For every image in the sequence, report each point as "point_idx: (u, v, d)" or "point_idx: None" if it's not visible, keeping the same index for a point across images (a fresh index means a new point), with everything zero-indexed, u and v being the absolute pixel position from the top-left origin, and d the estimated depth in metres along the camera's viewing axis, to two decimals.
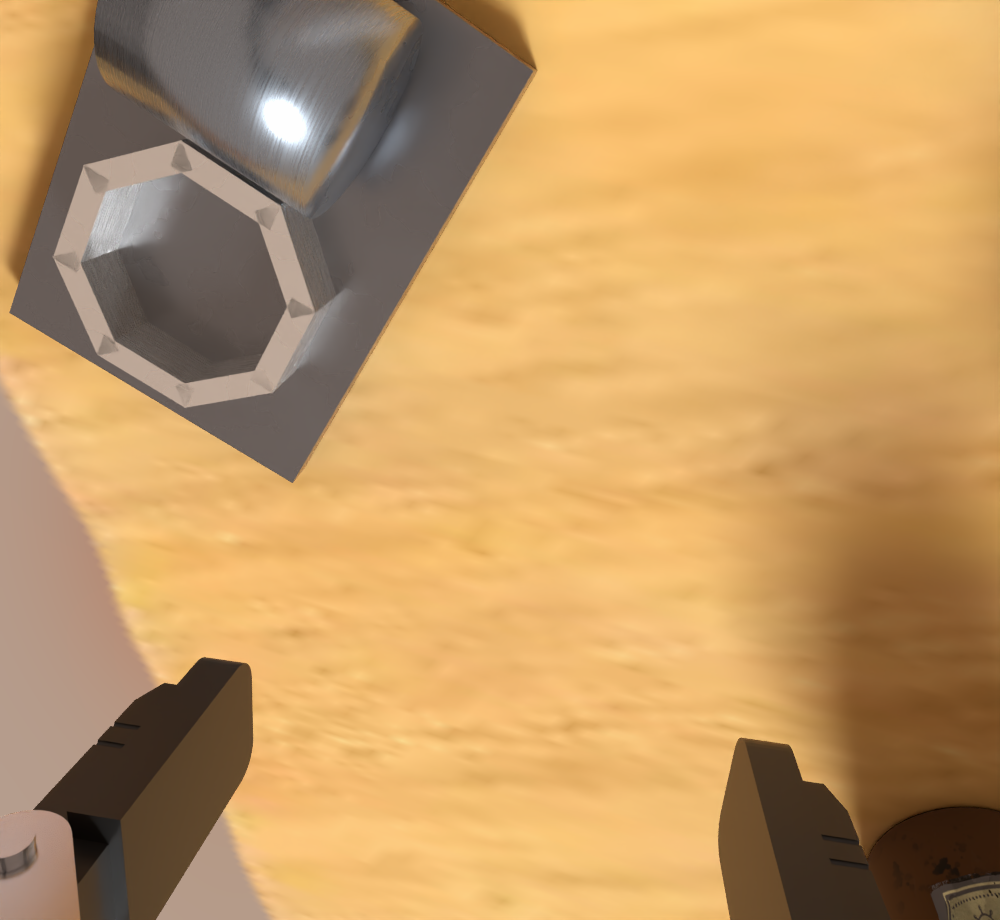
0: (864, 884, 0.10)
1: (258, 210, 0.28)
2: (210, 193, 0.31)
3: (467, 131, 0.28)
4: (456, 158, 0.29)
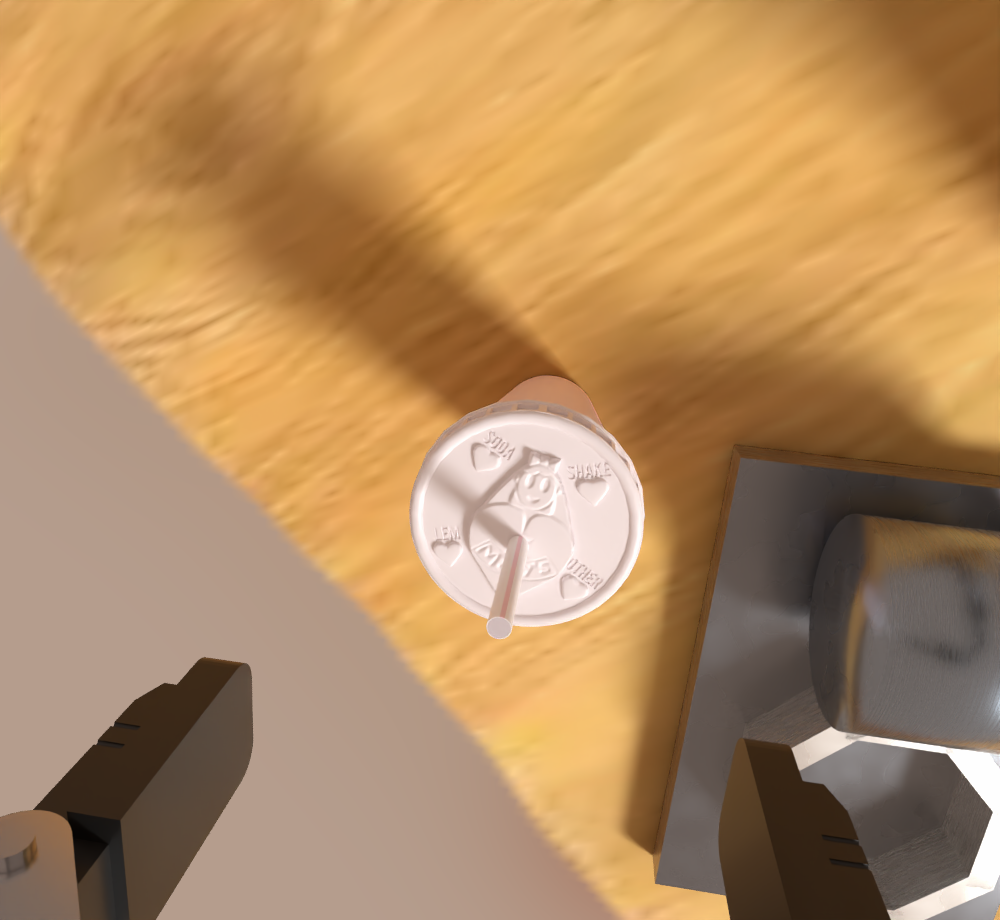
0: (864, 884, 0.10)
1: None
2: None
3: None
4: None
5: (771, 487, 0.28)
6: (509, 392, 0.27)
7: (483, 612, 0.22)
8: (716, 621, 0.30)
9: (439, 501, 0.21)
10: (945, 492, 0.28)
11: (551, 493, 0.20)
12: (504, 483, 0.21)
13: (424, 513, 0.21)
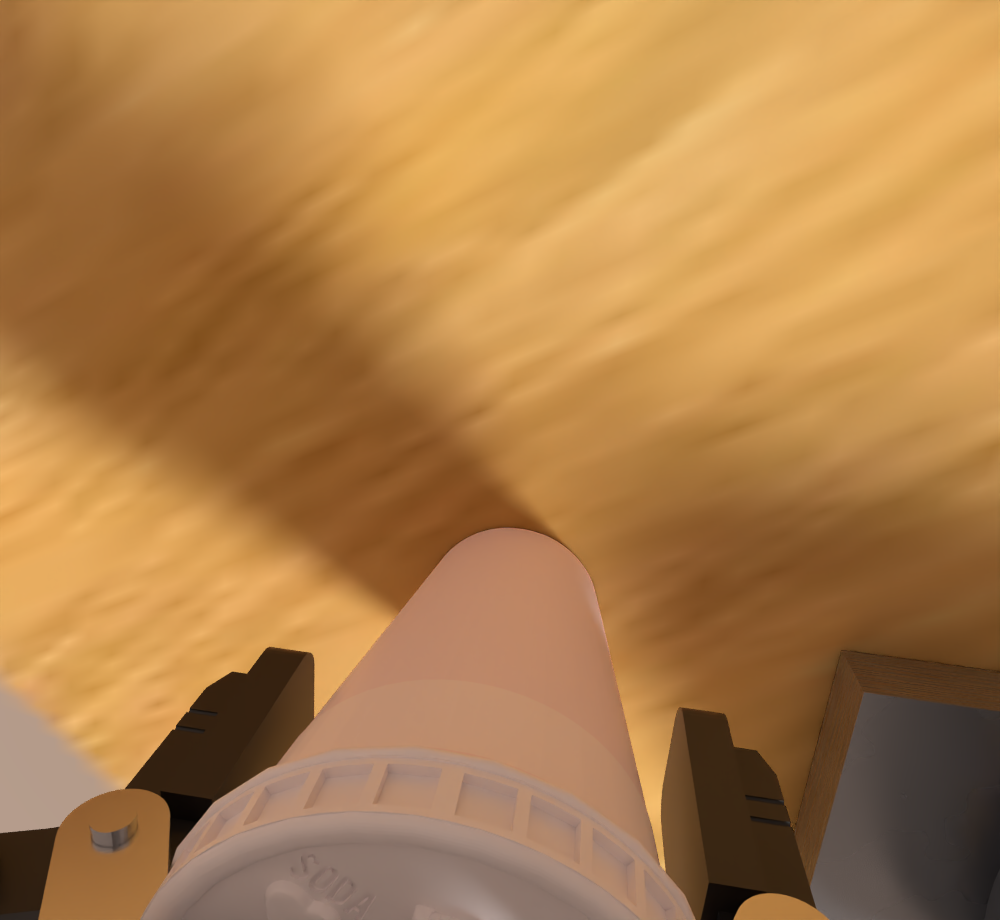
0: (784, 839, 0.10)
1: None
2: None
3: None
4: None
5: (919, 743, 0.15)
6: (433, 580, 0.15)
7: None
8: None
9: None
10: None
11: None
12: None
13: None
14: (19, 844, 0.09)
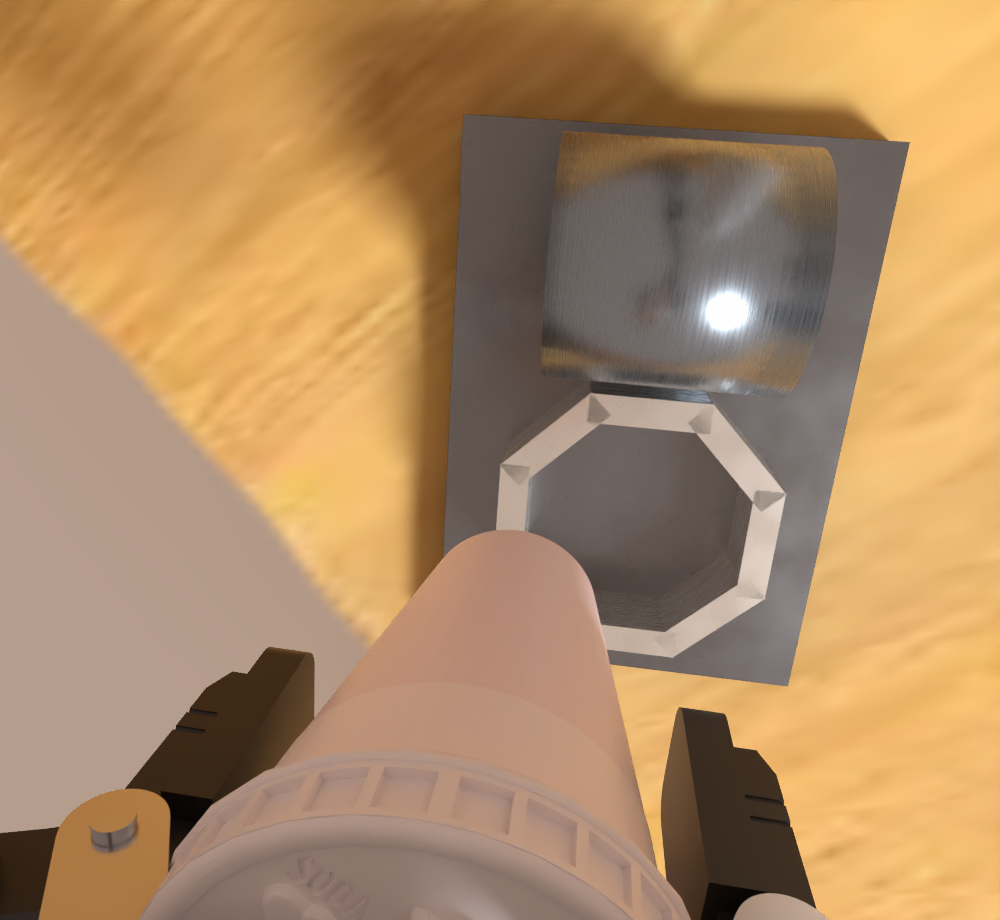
0: (784, 839, 0.10)
1: (691, 420, 0.26)
2: (605, 432, 0.29)
3: (858, 237, 0.25)
4: (855, 268, 0.26)
5: (499, 148, 0.26)
6: (431, 582, 0.15)
7: None
8: (462, 319, 0.28)
9: None
10: None
11: None
12: None
13: None
14: (19, 843, 0.09)
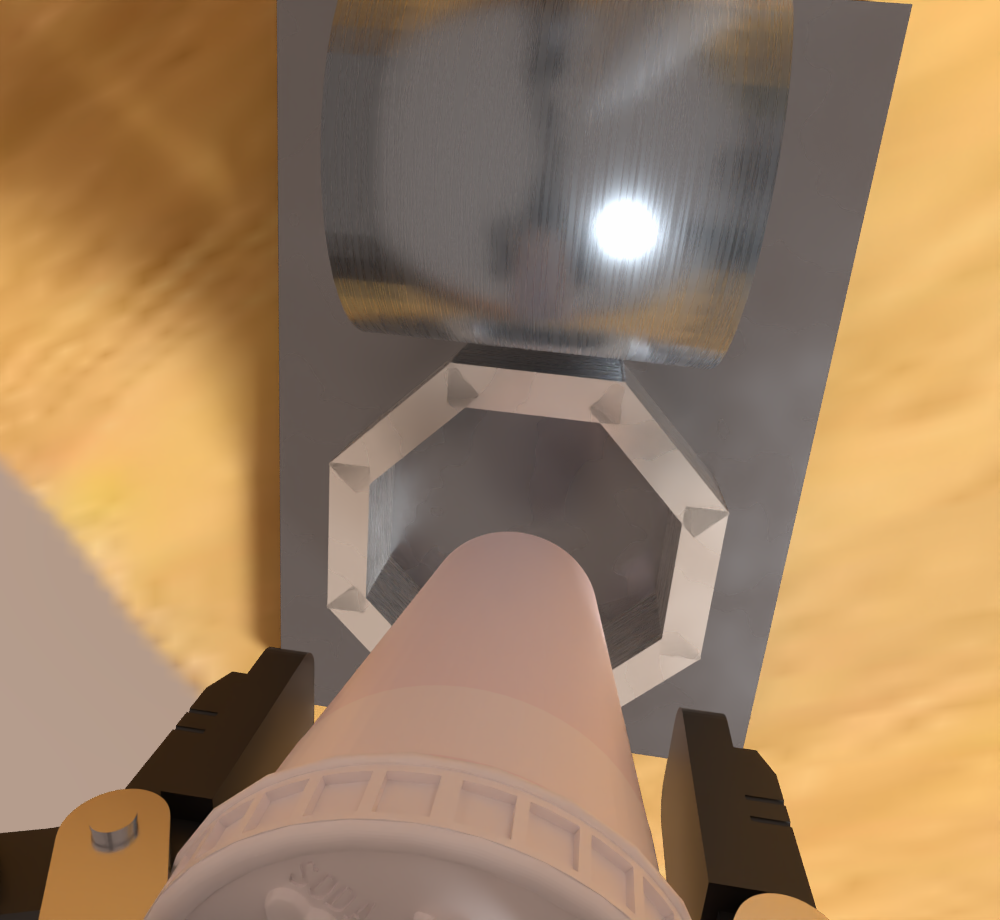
0: (783, 839, 0.10)
1: (593, 405, 0.18)
2: (489, 422, 0.21)
3: (836, 146, 0.18)
4: (832, 194, 0.18)
5: (329, 13, 0.18)
6: (432, 585, 0.15)
7: None
8: (290, 261, 0.20)
9: None
10: None
11: None
12: None
13: None
14: (19, 844, 0.09)
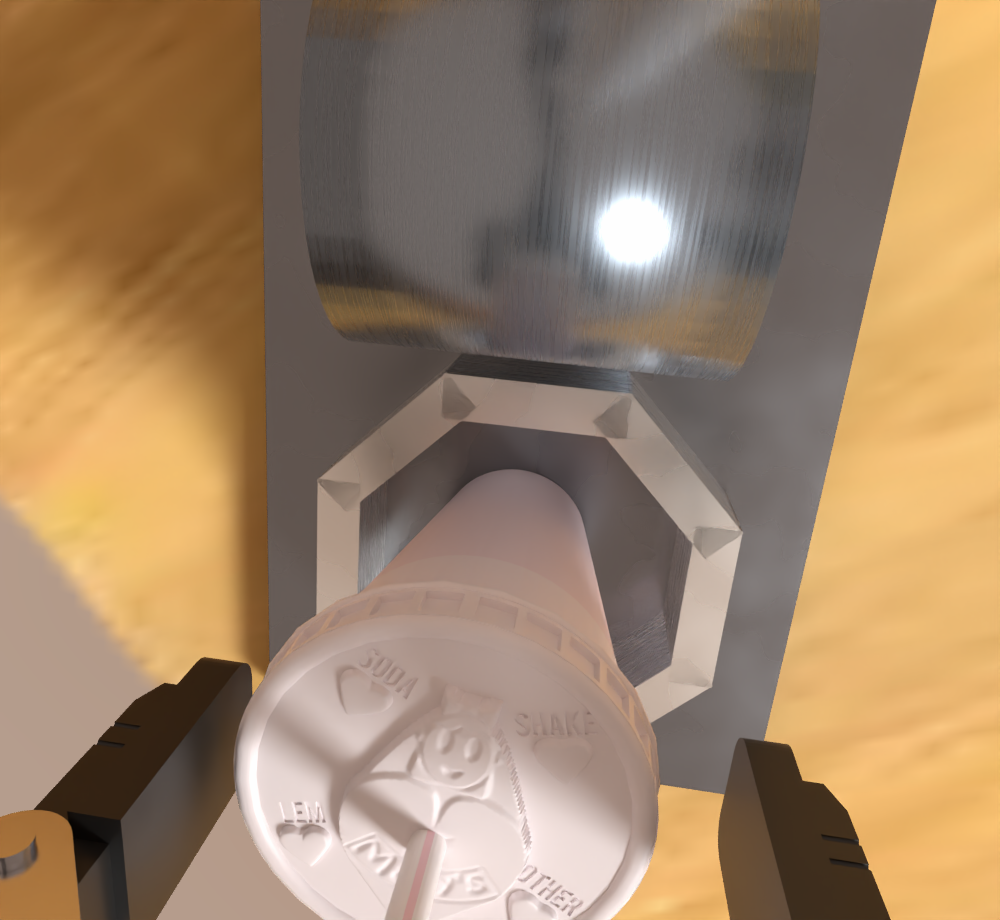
0: (864, 884, 0.10)
1: (598, 418, 0.17)
2: (487, 435, 0.20)
3: (856, 142, 0.17)
4: (852, 192, 0.17)
5: None
6: (449, 505, 0.18)
7: None
8: (276, 265, 0.19)
9: (285, 760, 0.12)
10: None
11: (485, 763, 0.11)
12: (398, 739, 0.11)
13: (259, 778, 0.12)
14: None
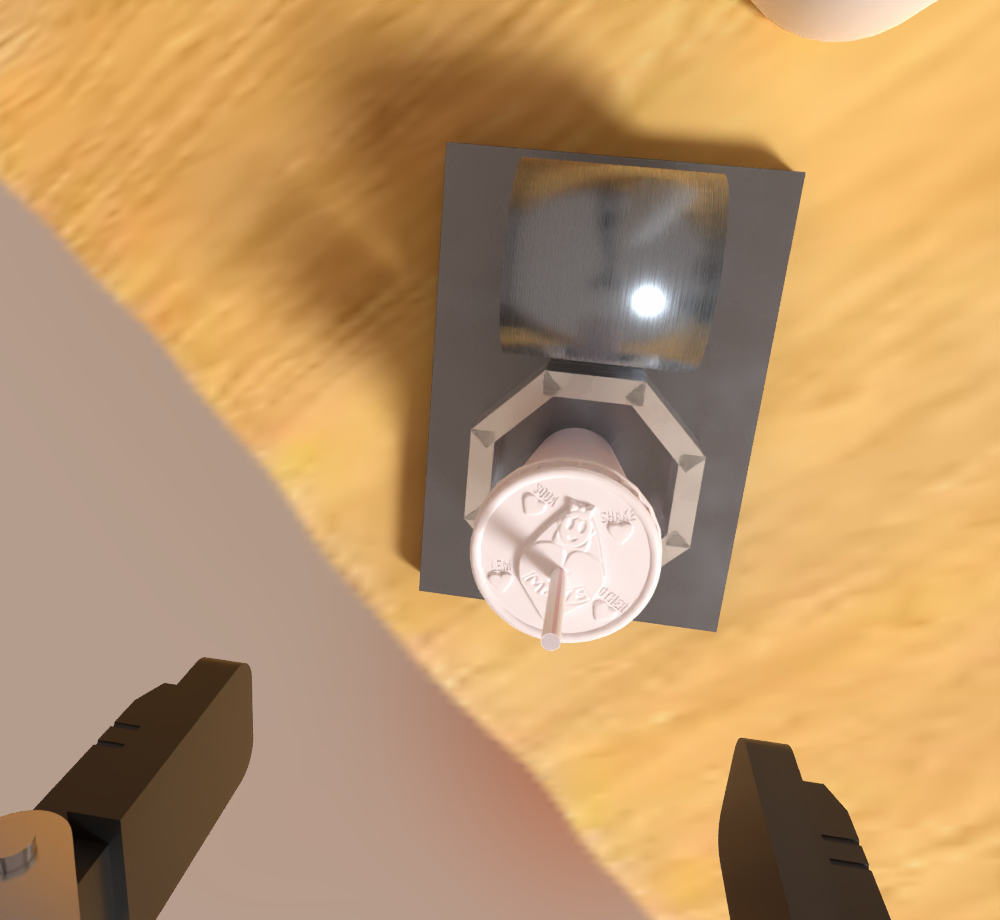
0: (864, 884, 0.10)
1: (627, 394, 0.31)
2: (561, 407, 0.34)
3: (766, 248, 0.31)
4: (764, 274, 0.31)
5: (475, 170, 0.32)
6: (544, 443, 0.32)
7: (528, 630, 0.27)
8: (443, 310, 0.34)
9: (494, 539, 0.26)
10: None
11: (587, 533, 0.25)
12: (548, 525, 0.25)
13: (482, 548, 0.26)
14: None
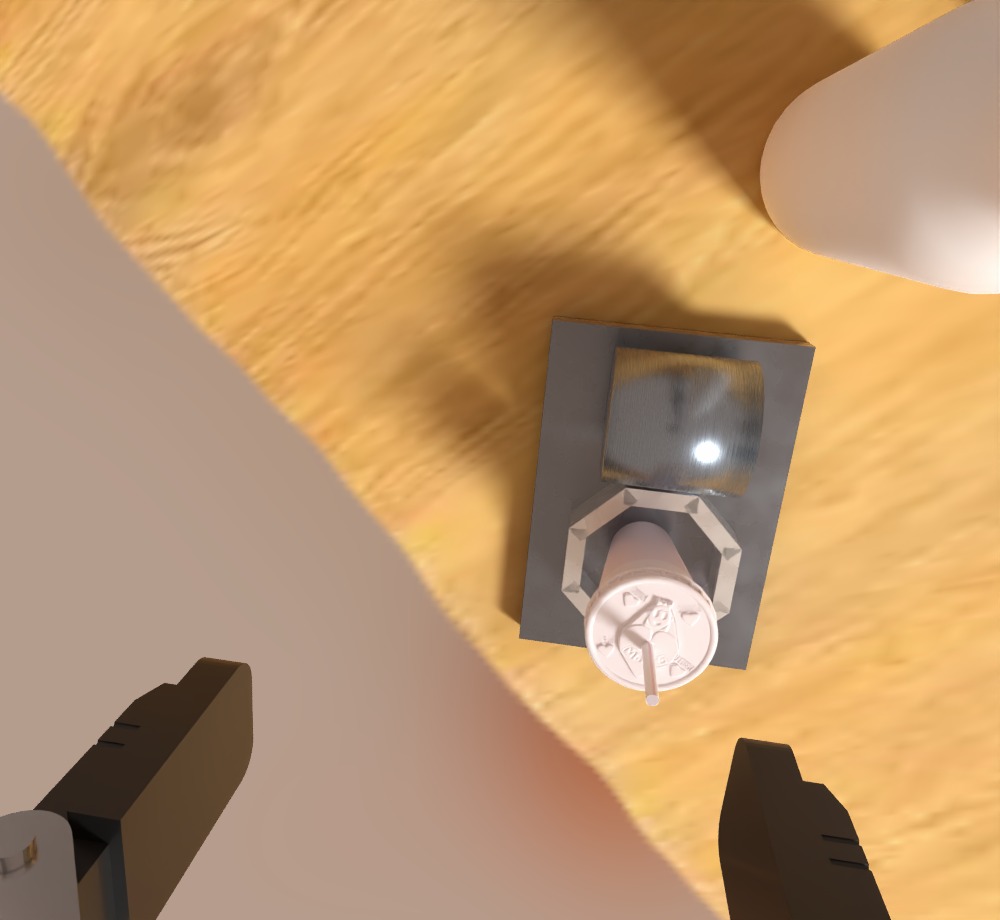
0: (864, 884, 0.10)
1: (685, 505, 0.43)
2: (632, 507, 0.46)
3: (786, 398, 0.43)
4: (785, 416, 0.43)
5: (573, 340, 0.43)
6: (623, 538, 0.44)
7: (623, 683, 0.39)
8: (545, 436, 0.45)
9: (602, 622, 0.38)
10: (683, 340, 0.42)
11: (667, 620, 0.37)
12: (640, 613, 0.37)
13: (593, 628, 0.38)
14: None
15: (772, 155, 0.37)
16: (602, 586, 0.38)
